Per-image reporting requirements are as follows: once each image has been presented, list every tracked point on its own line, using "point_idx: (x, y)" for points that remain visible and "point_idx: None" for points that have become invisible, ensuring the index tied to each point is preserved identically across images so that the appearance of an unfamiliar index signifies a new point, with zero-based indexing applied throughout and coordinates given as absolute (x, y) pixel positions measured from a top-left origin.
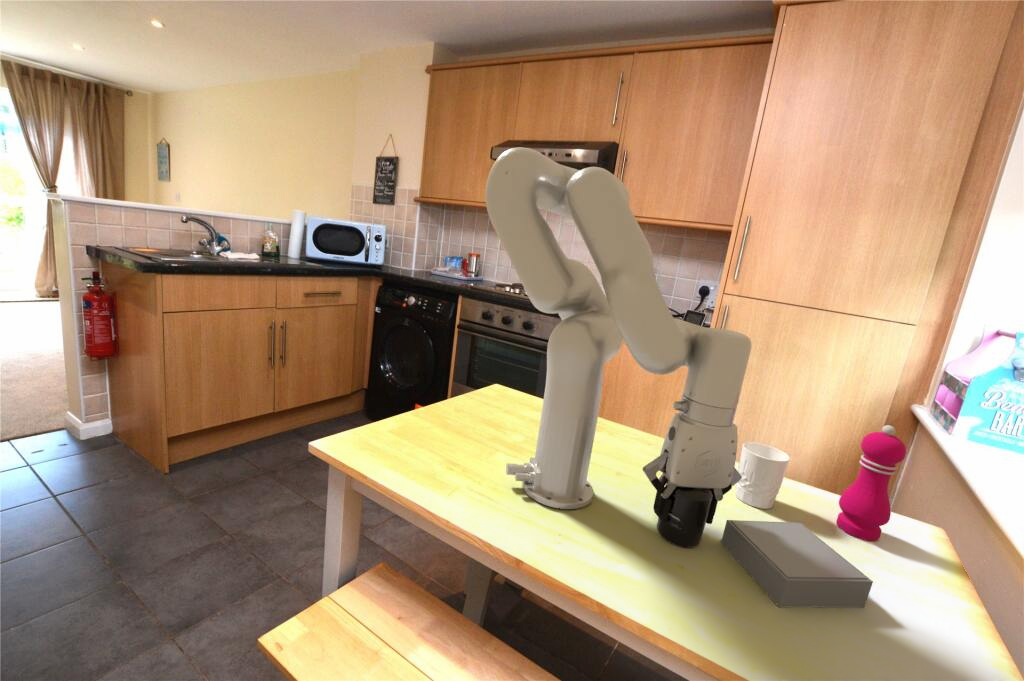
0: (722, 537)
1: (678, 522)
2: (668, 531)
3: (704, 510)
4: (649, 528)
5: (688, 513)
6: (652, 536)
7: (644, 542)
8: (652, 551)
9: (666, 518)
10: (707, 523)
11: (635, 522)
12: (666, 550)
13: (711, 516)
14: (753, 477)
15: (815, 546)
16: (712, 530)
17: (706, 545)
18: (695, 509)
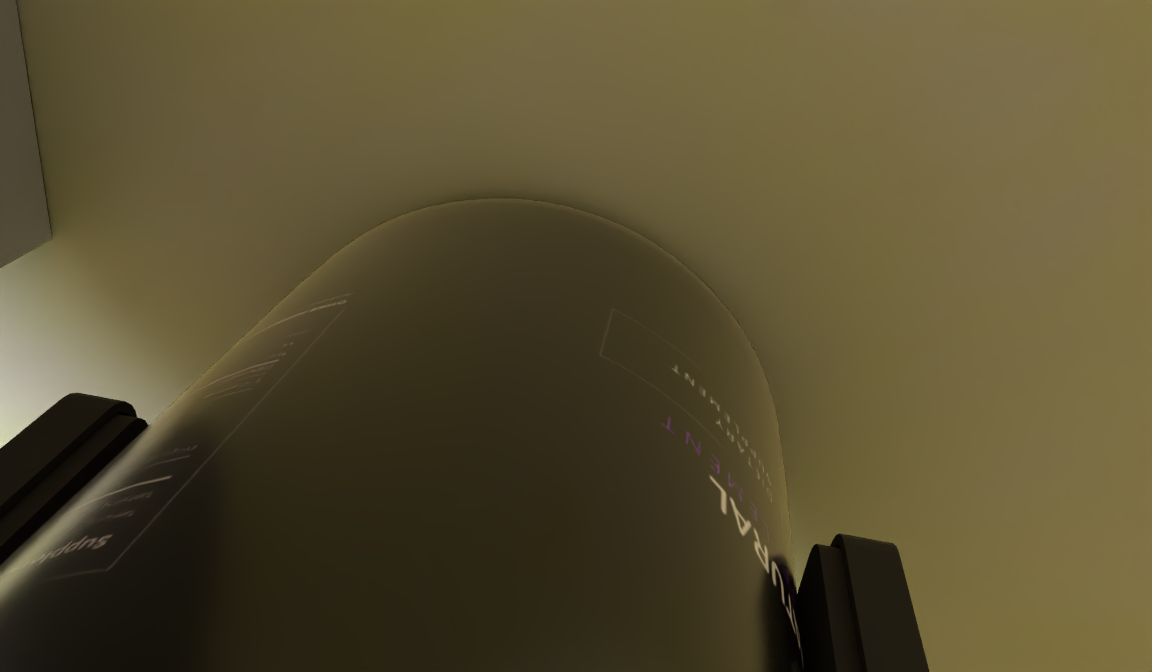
0: (4, 262)
1: (719, 460)
2: (767, 425)
3: (186, 513)
4: (796, 567)
5: (599, 532)
6: (866, 454)
7: (1067, 381)
8: (1103, 219)
9: (863, 578)
10: (134, 416)
11: None
12: (880, 210)
13: (24, 468)
14: None
15: None
16: None
17: (265, 221)
18: (445, 569)
